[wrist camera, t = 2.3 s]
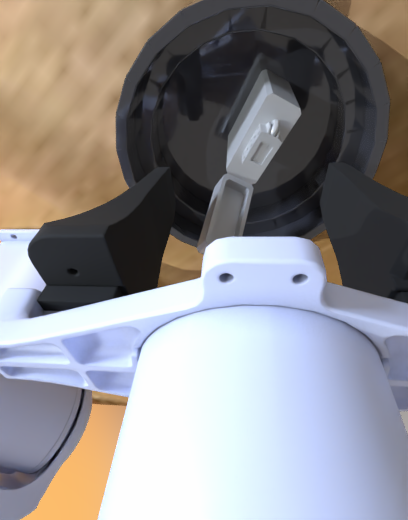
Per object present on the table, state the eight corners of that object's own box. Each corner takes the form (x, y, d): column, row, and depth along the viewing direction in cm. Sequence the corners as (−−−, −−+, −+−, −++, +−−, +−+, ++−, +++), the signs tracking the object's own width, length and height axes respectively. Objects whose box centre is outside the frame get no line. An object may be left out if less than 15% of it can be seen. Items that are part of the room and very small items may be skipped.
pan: (155, 224, 24) (145, 255, 21) (103, -3, 14) (74, 3, 12) (334, 223, 22) (346, 256, 20) (406, -31, 13) (449, -32, 10)
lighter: (263, 67, 16) (277, 124, 10) (291, 83, 16) (320, 146, 10) (206, 177, 20) (194, 259, 15) (229, 187, 21) (226, 271, 15)
